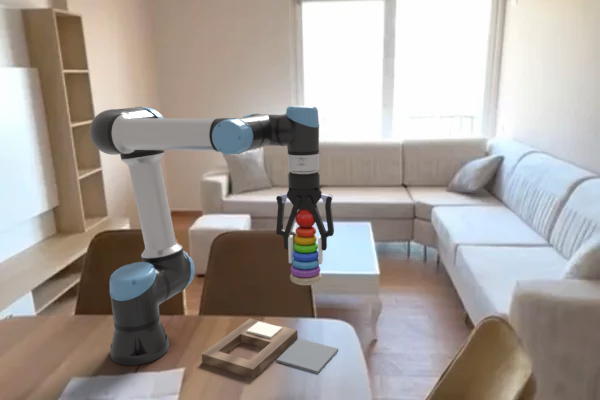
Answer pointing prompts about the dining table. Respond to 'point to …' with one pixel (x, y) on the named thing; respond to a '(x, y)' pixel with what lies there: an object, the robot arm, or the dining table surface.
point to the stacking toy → (305, 251)
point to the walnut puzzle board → (252, 334)
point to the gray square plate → (307, 355)
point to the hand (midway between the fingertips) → (305, 261)
